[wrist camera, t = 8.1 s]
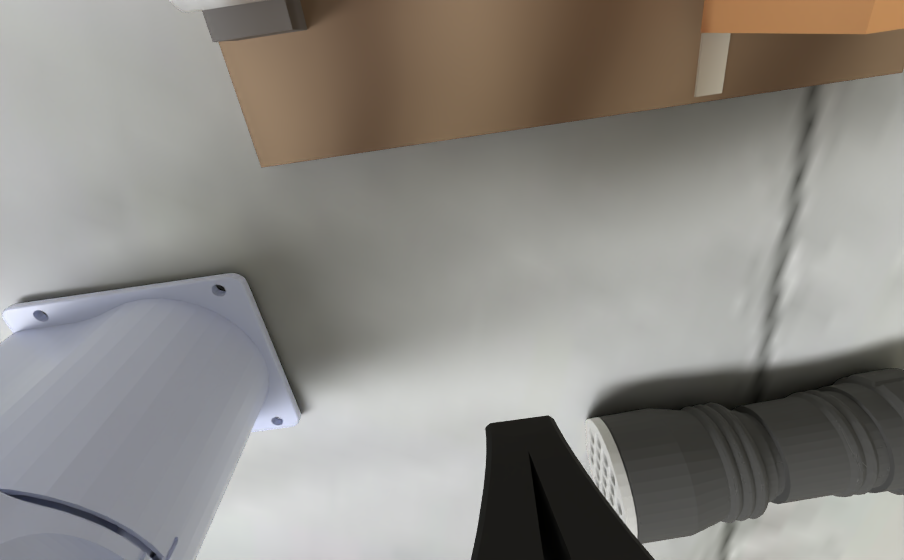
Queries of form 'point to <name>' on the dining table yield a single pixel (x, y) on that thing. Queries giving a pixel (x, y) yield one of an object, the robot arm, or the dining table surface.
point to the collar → (802, 16)
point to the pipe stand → (495, 66)
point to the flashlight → (748, 455)
